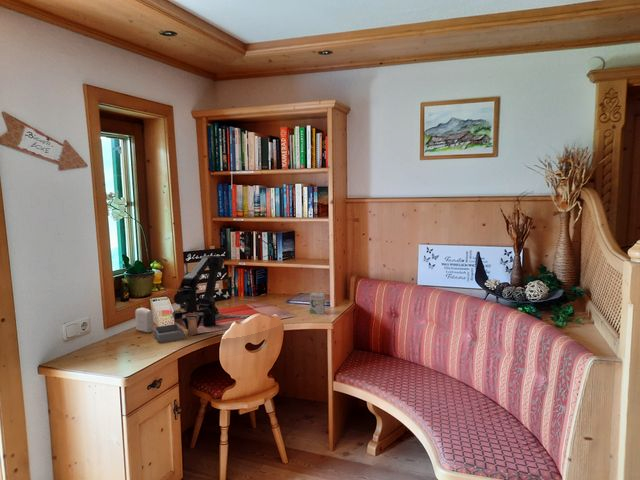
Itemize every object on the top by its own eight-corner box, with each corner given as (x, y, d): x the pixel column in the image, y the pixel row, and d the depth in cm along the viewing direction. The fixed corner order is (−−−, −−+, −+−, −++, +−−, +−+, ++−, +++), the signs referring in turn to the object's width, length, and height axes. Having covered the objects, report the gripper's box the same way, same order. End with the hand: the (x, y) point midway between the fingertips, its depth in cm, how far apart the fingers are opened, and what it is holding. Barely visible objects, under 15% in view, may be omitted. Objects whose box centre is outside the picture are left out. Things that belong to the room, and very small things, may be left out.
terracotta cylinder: (196, 331, 248) (195, 316, 247) (198, 333, 244) (197, 319, 243) (186, 332, 245) (185, 318, 244) (188, 335, 241) (188, 320, 240)
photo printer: (154, 330, 249) (153, 308, 248) (148, 333, 245) (146, 310, 244) (141, 327, 254) (140, 305, 253) (134, 330, 250) (133, 307, 249)
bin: (177, 330, 249) (177, 323, 248) (183, 338, 236) (183, 331, 236) (153, 334, 243) (153, 327, 242) (159, 342, 230) (158, 335, 230)
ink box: (325, 312, 282) (325, 293, 280) (323, 314, 277) (323, 295, 275) (312, 311, 284) (312, 292, 283) (309, 313, 279) (309, 294, 278)
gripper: (204, 294, 254) (205, 321, 256) (169, 298, 245) (170, 327, 247) (210, 298, 244) (211, 327, 246) (174, 303, 235) (175, 333, 237)
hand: (192, 328), depth 244 cm, fingers closed on terracotta cylinder, 5 cm apart
